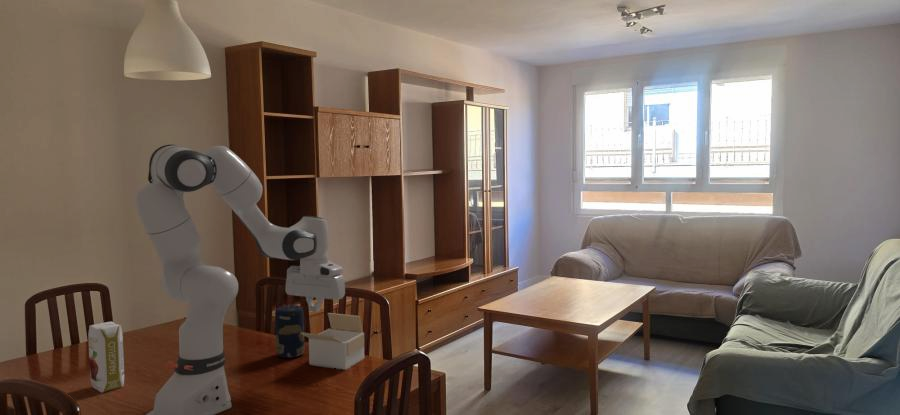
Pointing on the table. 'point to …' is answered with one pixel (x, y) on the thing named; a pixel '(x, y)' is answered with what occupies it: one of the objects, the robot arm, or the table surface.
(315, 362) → the carton
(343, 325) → the flap far
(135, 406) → the table surface
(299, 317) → the canister
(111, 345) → the juice carton
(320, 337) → the flap near
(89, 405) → the table surface
